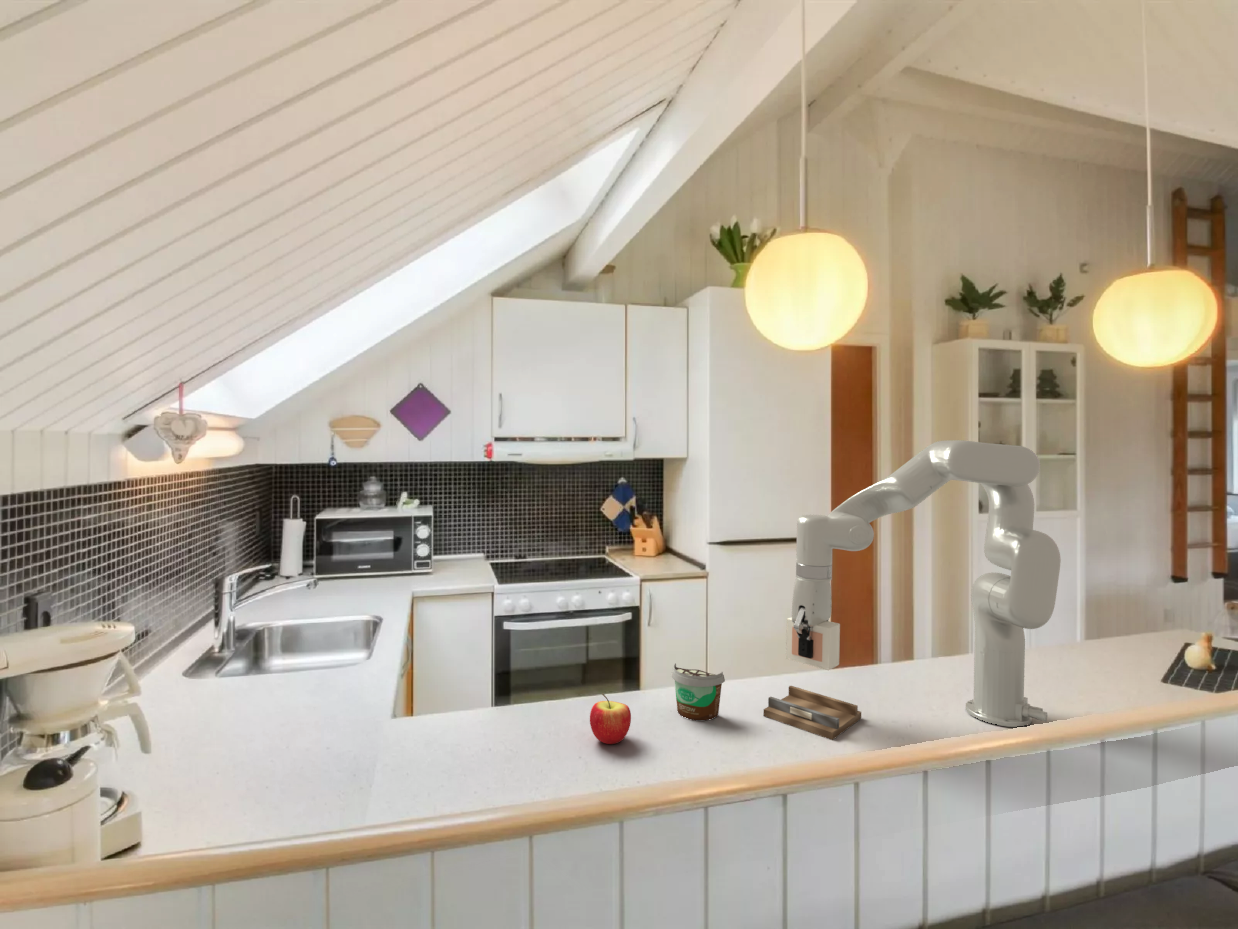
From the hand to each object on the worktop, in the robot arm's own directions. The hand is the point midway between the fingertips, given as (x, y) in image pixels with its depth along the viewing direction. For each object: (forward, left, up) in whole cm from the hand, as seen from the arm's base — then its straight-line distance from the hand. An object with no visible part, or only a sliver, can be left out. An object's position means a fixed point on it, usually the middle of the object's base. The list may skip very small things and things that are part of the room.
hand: (812, 652), depth 137 cm
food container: (+19, +18, -15) cm, 30 cm away
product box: (0, 0, -2) cm, 2 cm away
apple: (+24, +39, -15) cm, 48 cm away
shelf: (0, 0, -14) cm, 14 cm away
